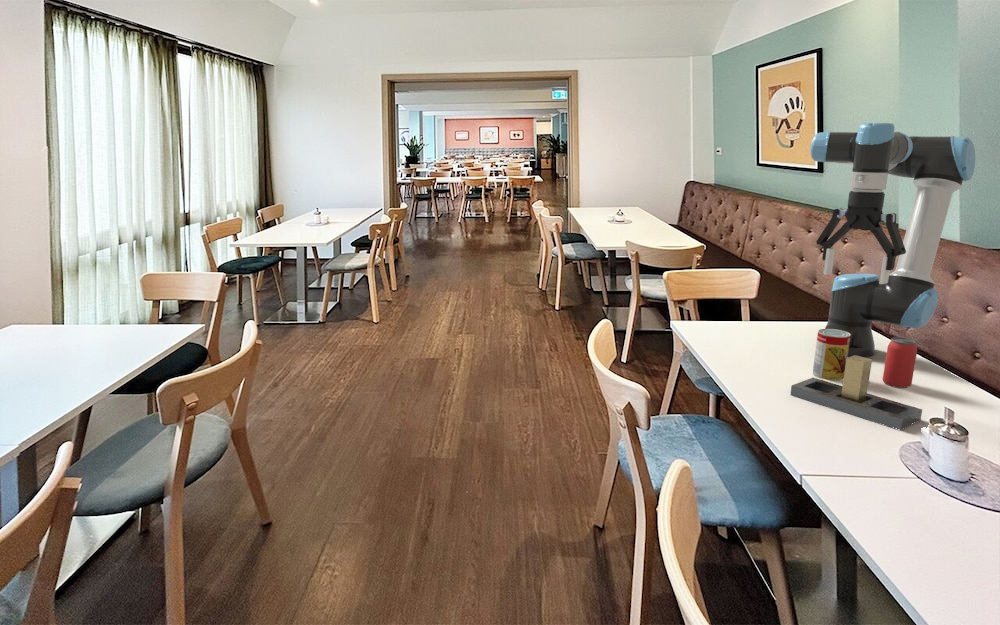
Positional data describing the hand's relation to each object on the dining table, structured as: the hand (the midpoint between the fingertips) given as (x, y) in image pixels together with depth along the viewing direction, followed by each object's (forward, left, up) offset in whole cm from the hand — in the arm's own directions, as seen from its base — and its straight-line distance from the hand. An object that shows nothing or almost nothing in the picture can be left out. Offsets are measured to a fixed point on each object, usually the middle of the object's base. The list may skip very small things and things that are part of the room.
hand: (854, 278), depth 167 cm
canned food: (-8, -7, -29) cm, 31 cm away
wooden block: (+9, +8, -29) cm, 31 cm away
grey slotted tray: (+9, +8, -29) cm, 31 cm away
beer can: (-16, +7, -29) cm, 34 cm away
